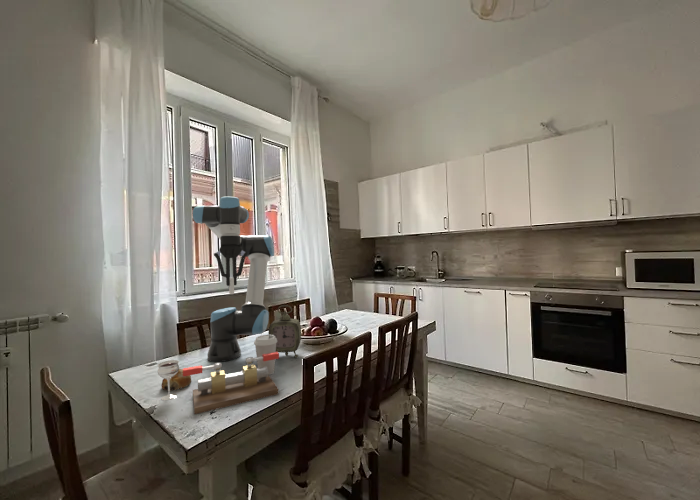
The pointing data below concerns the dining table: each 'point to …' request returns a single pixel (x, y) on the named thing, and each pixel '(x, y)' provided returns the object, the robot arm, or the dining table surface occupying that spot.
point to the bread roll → (177, 381)
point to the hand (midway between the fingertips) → (231, 293)
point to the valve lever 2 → (263, 357)
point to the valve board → (233, 395)
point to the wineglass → (168, 375)
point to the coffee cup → (266, 351)
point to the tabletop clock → (286, 333)
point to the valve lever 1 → (200, 369)
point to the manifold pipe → (232, 379)
